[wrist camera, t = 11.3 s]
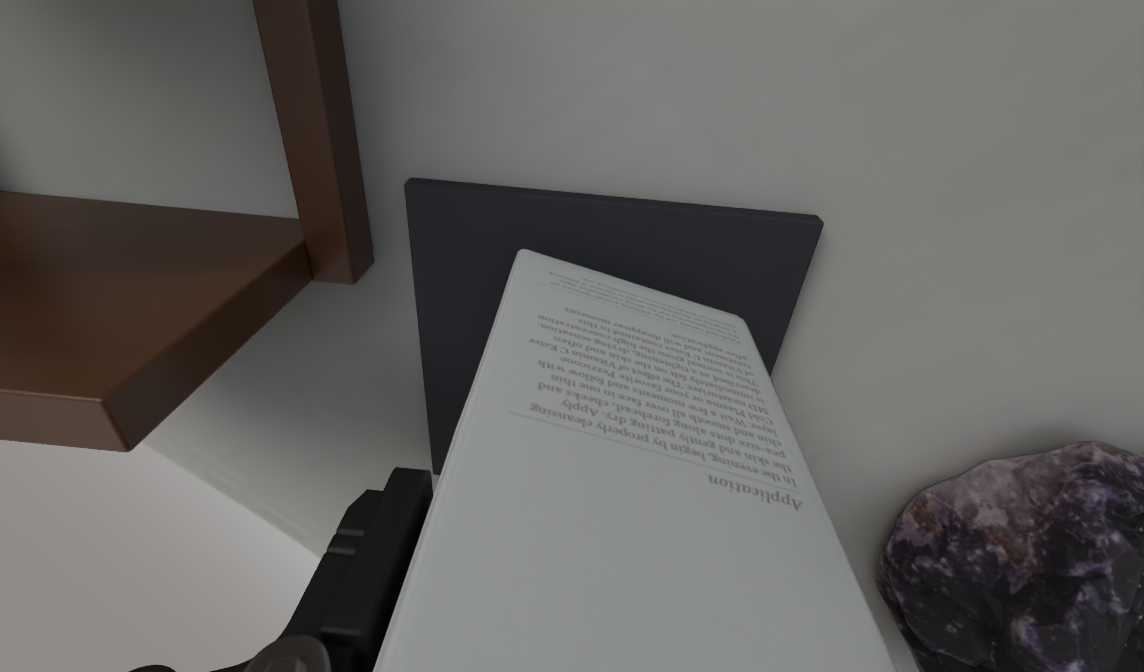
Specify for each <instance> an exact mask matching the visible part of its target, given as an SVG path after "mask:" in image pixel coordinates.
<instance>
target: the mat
mask: <svg viewBox="0 0 1144 672" xmlns="http://www.w3.org/2000/svg"><path fill="white" fill-rule="evenodd" d="M404 188H405V198H406V208H407V218H408V228H409V238H410V247H411V257H412V267H413V277H414V287H415V297H416V307H417V317H418V327H419V337H420V347H421V357H422V367H423V377H424V387H425V397H426V407H427V417H428V427H429V437H430V447H431V457H432V467H433V474H435V475H441V472H442V469H443V466H444V463H445V460H446V457H447V454H448V451H449V448H450V445H451V442H452V439H453V436H454V433H455V430H456V427H457V425H458V422H459V419H460V417H461V414H462V411H463V409H464V406H465V403H466V401H467V398H468V396H469V393H470V390H471V387H472V385H473V382H474V379H475V376H476V373H477V370H478V367H479V364H480V362H481V359H482V356H483V353H484V350H485V347H486V344H487V341H488V339H489V336H490V333H491V330H492V327H493V324H494V321H495V318H496V315H497V312H498V309H499V306H500V303H501V300H502V297H503V294H504V291H505V287H506V284H507V281H508V278H509V275H510V272H511V269H512V266H513V263H514V261H515V258H516V256H517V253H518V251H520V250H521V249H527V250H530V251H533V252H537V253H540V254H543V255H546V256H549V257H552V258H555V259H558V260H562V261H566V262H569V263H572V264H575V265H579V266H582V267H585V268H588V269H591V270H594V271H598V272H601V273H604V274H607V275H610V276H613V277H616V278H619V279H622V280H625V281H628V282H631V283H634V284H638V285H641V286H644V287H647V288H650V289H654V290H657V291H660V292H663V293H666V294H670V295H673V296H676V297H679V298H682V299H685V300H689V301H692V302H695V303H698V304H701V305H704V306H708V307H711V308H714V309H717V310H721V311H724V312H727V313H731V314H734V315H737V316H738V317H739V318H742V319H743V320H744V321H745V323H746V324H747V326H748V329H749V331H750V333H751V335H752V338H753V340H754V342H755V345H756V347H757V349H758V351H759V354H760V356H761V358H762V360H763V363H764V365H765V367H766V370H767V372H768V374H769V377H770V376H771V373H772V370H773V367H774V364H775V361H776V358H777V356H778V353H779V350H780V347H781V344H782V341H783V339H784V336H785V333H786V330H787V327H788V324H789V321H790V319H791V316H792V313H793V310H794V307H795V304H796V302H797V299H798V296H799V293H800V290H801V287H802V284H803V282H804V279H805V276H806V273H807V270H808V267H809V265H810V262H811V259H812V256H813V253H814V250H815V248H816V245H817V242H818V239H819V236H820V233H821V230H822V228H823V225H824V224H823V221H822V220H821V219H820V218H819V217H818V216H816V215H807V214H796V213H785V212H775V211H764V210H753V209H742V208H732V207H721V206H710V205H700V204H689V203H678V202H667V201H657V200H646V199H635V198H624V197H614V196H603V195H592V194H582V193H571V192H560V191H549V190H539V189H528V188H517V187H507V186H496V185H485V184H474V183H464V182H453V181H442V180H431V179H421V178H410V179H409V180H408V181H407V182H406V183H405V184H404Z"/></svg>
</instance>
